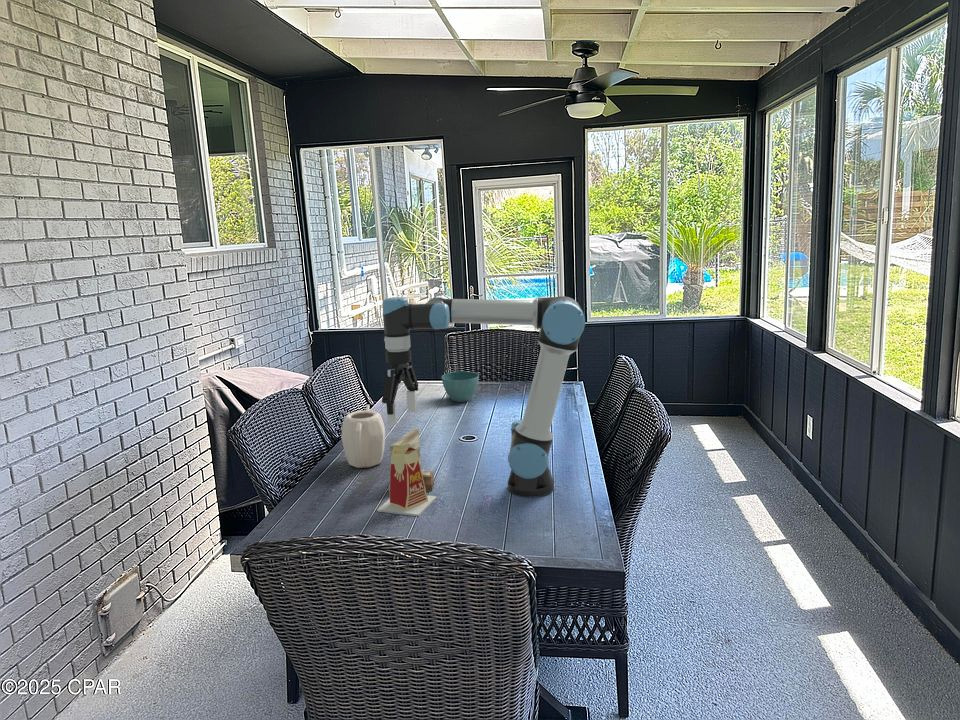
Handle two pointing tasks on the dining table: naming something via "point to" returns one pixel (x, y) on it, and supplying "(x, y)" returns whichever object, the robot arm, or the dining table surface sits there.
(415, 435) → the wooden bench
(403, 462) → the milk carton
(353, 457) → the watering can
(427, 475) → the walnut cube
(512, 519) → the dining table surface
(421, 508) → the mat
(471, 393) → the teal bowl
